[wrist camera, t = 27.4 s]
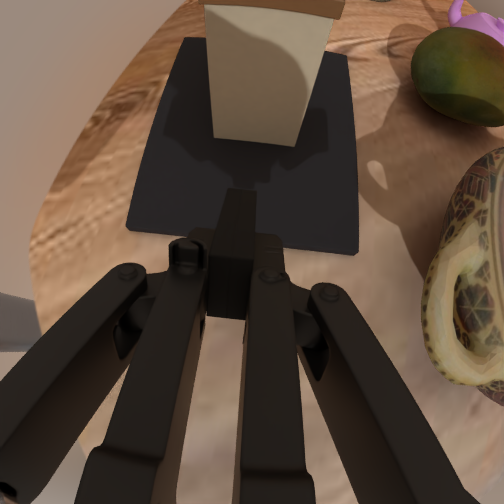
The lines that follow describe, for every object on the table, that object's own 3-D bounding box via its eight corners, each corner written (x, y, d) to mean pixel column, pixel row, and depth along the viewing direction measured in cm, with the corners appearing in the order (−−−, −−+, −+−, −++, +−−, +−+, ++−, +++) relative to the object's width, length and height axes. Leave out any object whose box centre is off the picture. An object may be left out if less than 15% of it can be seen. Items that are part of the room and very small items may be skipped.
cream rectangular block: (210, 141, 23) (196, -16, 10) (223, 82, 24) (221, -56, 11) (297, 150, 23) (346, 1, 10) (299, 90, 24) (333, -44, 12)
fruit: (501, 132, 27) (549, 87, 17) (454, 168, 25) (518, 111, 15) (439, 60, 29) (473, 6, 19) (377, 77, 27) (414, 5, 17)
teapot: (430, 21, 32) (452, -20, 23) (496, 54, 32) (521, 22, 24) (453, 71, 29) (486, 25, 20) (522, 106, 29) (555, 73, 21)
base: (129, 230, 22) (20, 107, 8) (185, 44, 27) (171, -76, 13) (353, 255, 22) (486, 157, 8) (344, 62, 27) (386, -52, 13)
